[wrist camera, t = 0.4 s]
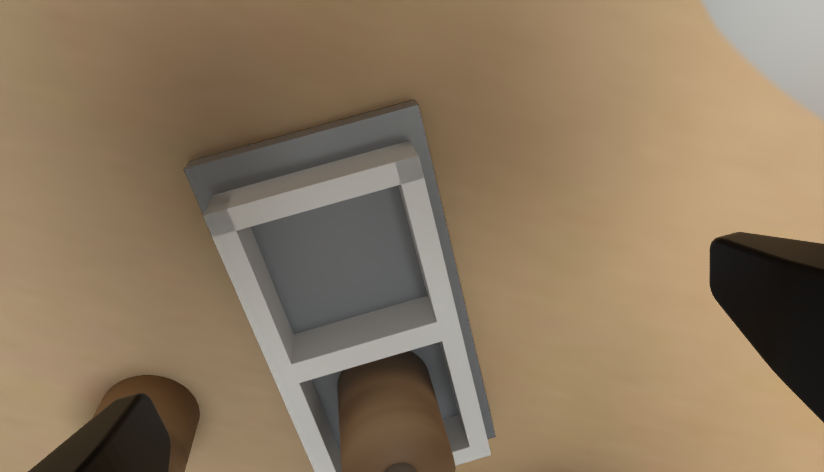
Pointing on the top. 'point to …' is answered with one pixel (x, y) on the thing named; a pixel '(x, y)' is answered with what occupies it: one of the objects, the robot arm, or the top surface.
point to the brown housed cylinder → (391, 418)
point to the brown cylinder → (164, 411)
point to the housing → (345, 268)
